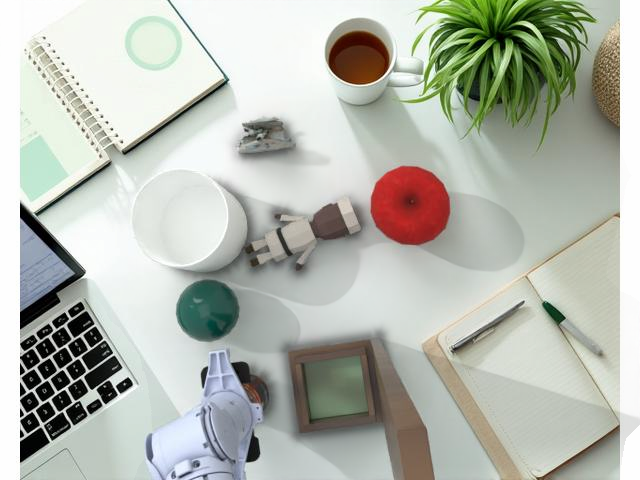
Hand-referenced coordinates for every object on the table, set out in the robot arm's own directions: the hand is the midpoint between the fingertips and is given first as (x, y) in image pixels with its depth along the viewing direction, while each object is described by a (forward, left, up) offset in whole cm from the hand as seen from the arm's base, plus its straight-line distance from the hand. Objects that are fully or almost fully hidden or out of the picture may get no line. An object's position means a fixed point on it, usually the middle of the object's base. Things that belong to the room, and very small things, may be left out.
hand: (241, 403), depth 76 cm
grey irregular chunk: (+34, -7, -5) cm, 35 cm away
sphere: (+12, +3, -5) cm, 13 cm away
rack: (0, -12, -5) cm, 13 cm away
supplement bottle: (0, 0, -5) cm, 5 cm away
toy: (+20, -10, -5) cm, 23 cm away
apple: (+21, -24, -5) cm, 32 cm away
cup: (+23, +3, -5) cm, 24 cm away
